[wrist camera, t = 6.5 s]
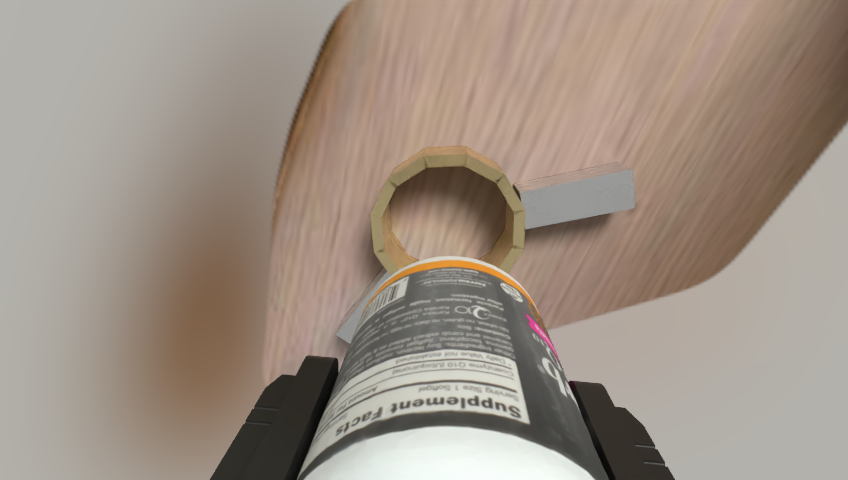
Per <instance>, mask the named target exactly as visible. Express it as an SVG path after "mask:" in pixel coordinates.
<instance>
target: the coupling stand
mask: <svg viewBox="0 0 848 480" xmlns="http://www.w3.org/2000/svg"><path fill="white" fill-rule="evenodd" d="M450 166H465V167H467V168H469V169H471V170H473V171H474V172H476V173H478V174H480V175H482V176H484V177H486V178H488V179H490V180H491V181H493V182H495V183H497V185H498V187H499V189H500V190H501V192H502V194H503V195H504V197H505V199H506V228H505V229H504V231H503V233H502V234H501V236H500V237H499V239H498V241H497V242H496V244H495V246H494V247H493V249H492V250H491V252H490V253H489V254H487V255H485V256H483V257H482V258H480V259H478V260H480V261H483V262H485V263H488V264H491V265H493V266H496V267H497V268H499V269H501V270H503V271H504V272H506V273H507V274H508V273H509V271H510V270H511V268H512V267H513V265H514V264H515V262H516V260H517V259H518V257H519V256H520V254H521V253H522V251H523V250H524V249H523V248H524V238H525V229H530V228H535V227H541V226H546V225H551V224H556V223H561V222H566V221H572V220H577V219H582V218H587V217H592V216H597V215H603V214H608V213H613V212H618V211H623V210H628V209H633V208H635V197H634V179H633V169H631V168H629V167H627V166H624V165H622V164H620V163H618V162H615V163H611V164H606V165H601V166H596V167H591V168H587V169H582V170H577V171H572V172H568V173H563V174H558V175H553V176H548V177H544V178H539V179H534V180H529V181H524V182H520V183H515V184H514V188H515V191H514V189H513V187H512V186H511V184H510V182H509V181H508V179H507V177H506V175H505V174H504V172H503V171H502V169H501V168H500V166H499V165H498V164H497V163H496V162H494V161H492V160H490V159H488V158H486V157H484V156H482V155H481V154H479V153H477V152H475V151H473V150H471V149H469V148H467V147H466V146H465V147H464V146H451V147H429V148H425V149H423V150H422V151H420V152H419V153H417V154H416V155H414V156H413V157H411V158H409V159H408V160H406V161H405V162H403V163H402V164H400V165H399V166H397V167H396V168H395V169H394V170H393V172H392V173H391V175H390V176H389V178H388V179H387V181H386V183H385V185H384V187H383V189H382V192H381V194H380V196H379V198H378V200H377V202H376V204H375V206H374V208H373V210H372V212H371V214H370V219H371V228H372V238H373V248H374V254H375V255H376V256H377V258H378V259H379V260H380V262H381V263H382V265H383V266H384V267H383V269H382V270H381V271H380V272H379V274H378V275H377V276H376V277H375V279H374V280H373V281H372V283H371V284H370V285H369V286H368V288H367V289H366V290H365V291H364V293H363V294H362V295H361V296H360V298H359V299H358V300H357V301H356V303H355V304H354V305H353V306H352V308H351V309H350V310H349V311H348V313H347V314H346V315H345V316H344V318H343V320H342V322H341V325H340V327H339V329H338V331H337V333H336V335H337V336H338V337H340V338H341V339H343V340H344V341H346V342H347V343H349V344H350V343H351V340H352V338H353V335H354V332H355V330H356V328H357V325H358V323H359V320H360V318H361V315H362V313H363V311H364V309H365V307H366V305H367V303H368V302H369V300H370V298H371V297H372V295H373V294H374V292H375V291H376V290H377V289H378V287H379V286H380V285H381V284H382V283H383V282H384V281H385V280H387V279H388V278H389V277H390V276H391V275H393V274H394V273H395V272H397V271H398V270H400V269H402V268H404V267H406V266H408V265H410V264H412V263H415V262H418V261H419V260H417V259H415V258H413V257H411V256H409V255H408V254H407V253H406V251H405V250H404V248H403V247H402V245H401V244H400V243H399V241H398V240H397V238H396V237H395V236H394V234H393V233H392V230H391V218H390V207H389V201H390V199H391V197H392V195H393V193H394V191H395V189H396V187H397V186H399V185H400V184H402V183H403V182H405V181H406V180H408V179H410V178H411V177H413V176H414V175H416V174H417V173H419V172H420V171H422V170H424V169H425V168H427V167H450Z"/></svg>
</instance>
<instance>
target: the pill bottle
mask: <svg viewBox="0 0 848 480" xmlns="http://www.w3.org/2000/svg"><path fill="white" fill-rule="evenodd" d="M297 480H609V479H608V476H607V474H606V472H605V470H604V468H603V466H602V464H601V461H600V459H599V457H598V454H597V452H596V450H595V448H594V445H593V443H592V440H591V437H590V434H589V431H588V429H587V427H586V425H585V423H584V421H583V418H582V415H581V412H580V410H579V407H578V405H577V402H576V400H575V398H574V395H573V393H572V391H571V389H570V386H569V384H568V381H567V378H566V376H565V373H564V371H563V368H562V366H561V364H560V361H559V359H558V356H557V353H556V351H555V348H554V346H553V344H552V342H551V340H550V337H549V335H548V332H547V330H546V328H545V325H544V323H543V320H542V318H541V316H540V314H539V312H538V310H537V308H536V306H535V304H534V302H533V300H532V299H531V297H530V296H529V294H528V293H527V292H526V290H525V289H524V288H523V287H522V286H521V285H520V284H519V283H518V282H517V281H516V280H515V279H514V278H512V277H511V276H510V275H509V274H507V273H506V272H504V271H503V270H501V269H499V268H497V267H496V266H493V265H491V264H488V263H485V262H483V261H480V260H477V259H472V258H466V257H458V256H443V257H434V258H429V259H425V260H422V261H418V262H415V263H412V264H410V265H408V266H406V267H404V268H402V269H400V270H398V271H397V272H395V273H394V274H393V275H391V276H390V277H389V278H388V279H387V280H385V281H384V282H383V283H382V284H381V285H380V286H379V287H378V289H377V290H376V291H375V292H374V294H373V295H372V297H371V298H370V300H369V302H368V303H367V305H366V307H365V309H364V311H363V313H362V315H361V318H360V320H359V323H358V325H357V328H356V330H355V332H354V335H353V338H352V340H351V343H350V346H349V348H348V350H347V353H346V356H345V358H344V361H343V363H342V366H341V369H340V372H339V374H338V377H337V379H336V382H335V384H334V387H333V390H332V393H331V396H330V398H329V401H328V403H327V405H326V408H325V410H324V413H323V416H322V418H321V420H320V422H319V425H318V428H317V431H316V433H315V436H314V438H313V441H312V443H311V446H310V449H309V451H308V453H307V456H306V458H305V461H304V463H303V465H302V468H301V470H300V473H299V475H298V478H297Z"/></svg>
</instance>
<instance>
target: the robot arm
mask: <svg viewBox="0 0 848 480" xmlns="http://www.w3.org/2000/svg"><path fill="white" fill-rule="evenodd" d="M337 377H338V359H337V358H330V357H320V356H309V355H308V356H306V358H305V359H304V361H303V363H302V365H301V367H300V369H299V371H298V373H297V374H296V376H293V375H283V374H282V375H281V376H280V377H279V378H277V379H276V380H275V381H274V382H272V383H271V384H270V385H269V386H267V387H266V388H265V390H264V391H263V393H262V395H261V396H260V398H259V399H258V401H257V403H256V404H255V407H254V409H252V411H251V413H250V414H249V416H248V417H247V419H246V423H245V424H243V426H242V428H241V429H240V431H239V432H238V434H237V436H236V437H235V439H234V441H233V442H232V444H231V446H230V447H229V449H228V451H227V452H226V454H225V456H224V457H223V459H222V460H221V462H220V464H219V465H218V467H217V469H216V470H215V472H214V474H213V475H212V477H211V479H210V480H297V478H298V475H299V473H300V470H301V468H302V465H303V463H304V461H305V458H306V456H307V453H308V451H309V449H310V446H311V443H312V441H313V438H314V436H315V433H316V431H317V428H318V425H319V422H320V420H321V418H322V416H323V413H324V410H325V408H326V405H327V403H328V401H329V398H330V396H331V393H332V390H333V387H334V384H335V382H336V379H337ZM568 384H569V386H570V389H571V391H572V393H573V395H574V398H575V400H576V402H577V405H578V407H579V410H580V412H581V415H582V418H583V421H584V423H585V425H586V427H587V429H588V431H589V434H590V437H591V440H592V443H593V445H594V448H595V450H596V452H597V454H598V457H599V459H600V461H601V464H602V466H603V468H604V470H605V472H606V474H607V476H608V479H609V480H675V479H674V478H673V475H672V474H671V472H670V470H669V469H668V467H665V462H664V460H663V458H662V457H661V455H660V453H659V451H658V450H656V449H655V445H654V443H653V441H652V439H651V438H650V436H649V434H648V433H647V431H646V429H645V427H644V426H643V425H642V424H641V423H640V422H639V421H638V420H637V419H636V418H635V417H634V416H633V415H632V414H631V413H630V412H629V411H627V409H626V408H621V407H615V406H614V404H613V402H612V400H611V399H610V397H609V395H608V393H607V391H606V389H605V387H604V386H603V385H602V384H599V383H588V382H578V381H569V382H568Z"/></svg>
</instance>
